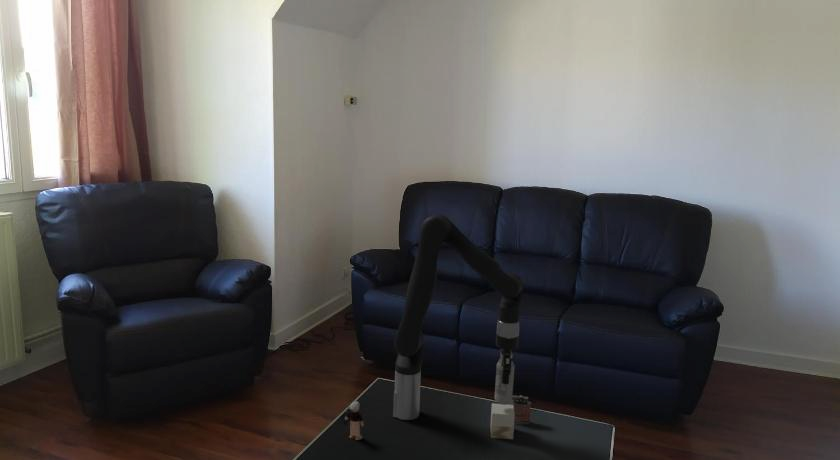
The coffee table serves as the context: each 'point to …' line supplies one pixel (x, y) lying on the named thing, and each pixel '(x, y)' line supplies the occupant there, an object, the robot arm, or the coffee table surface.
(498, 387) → the energy drink can
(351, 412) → the grandmother figurine
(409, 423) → the coffee table surface
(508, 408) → the cream block
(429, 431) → the coffee table surface
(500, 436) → the birch block
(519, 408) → the lighter
